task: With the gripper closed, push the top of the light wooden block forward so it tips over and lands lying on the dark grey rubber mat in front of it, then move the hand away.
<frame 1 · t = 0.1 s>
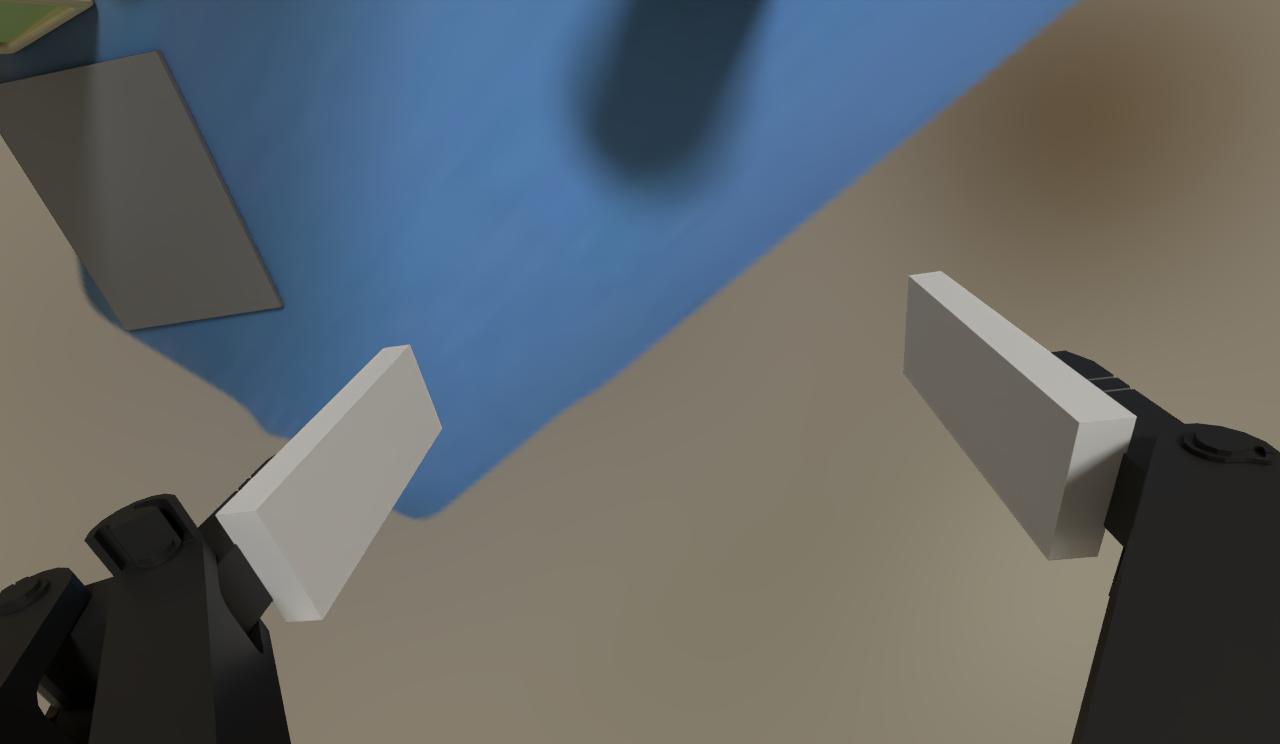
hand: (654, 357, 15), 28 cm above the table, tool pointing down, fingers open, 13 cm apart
mat: (143, 205, 42), on the table
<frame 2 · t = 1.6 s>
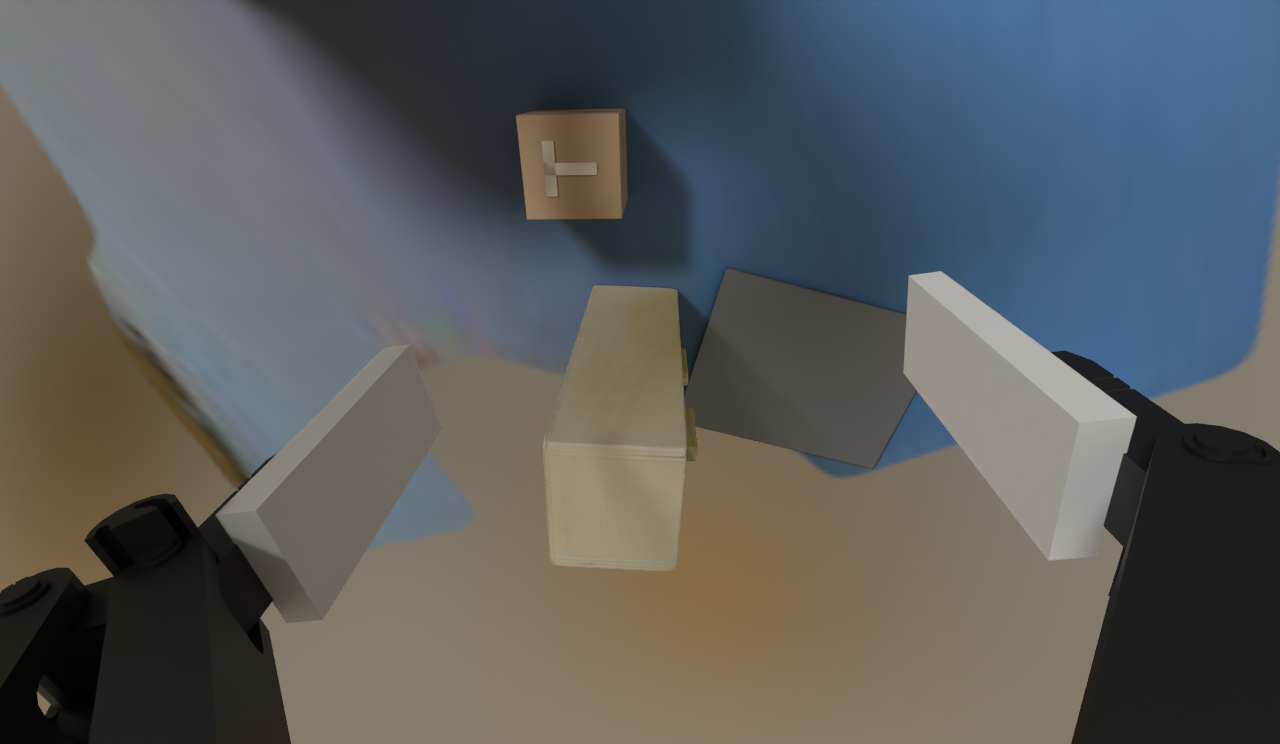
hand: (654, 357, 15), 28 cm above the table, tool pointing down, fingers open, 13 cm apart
mat: (805, 374, 47), on the table
letter cube: (583, 156, 40), on the table
light wooden block: (639, 332, 46), on the table
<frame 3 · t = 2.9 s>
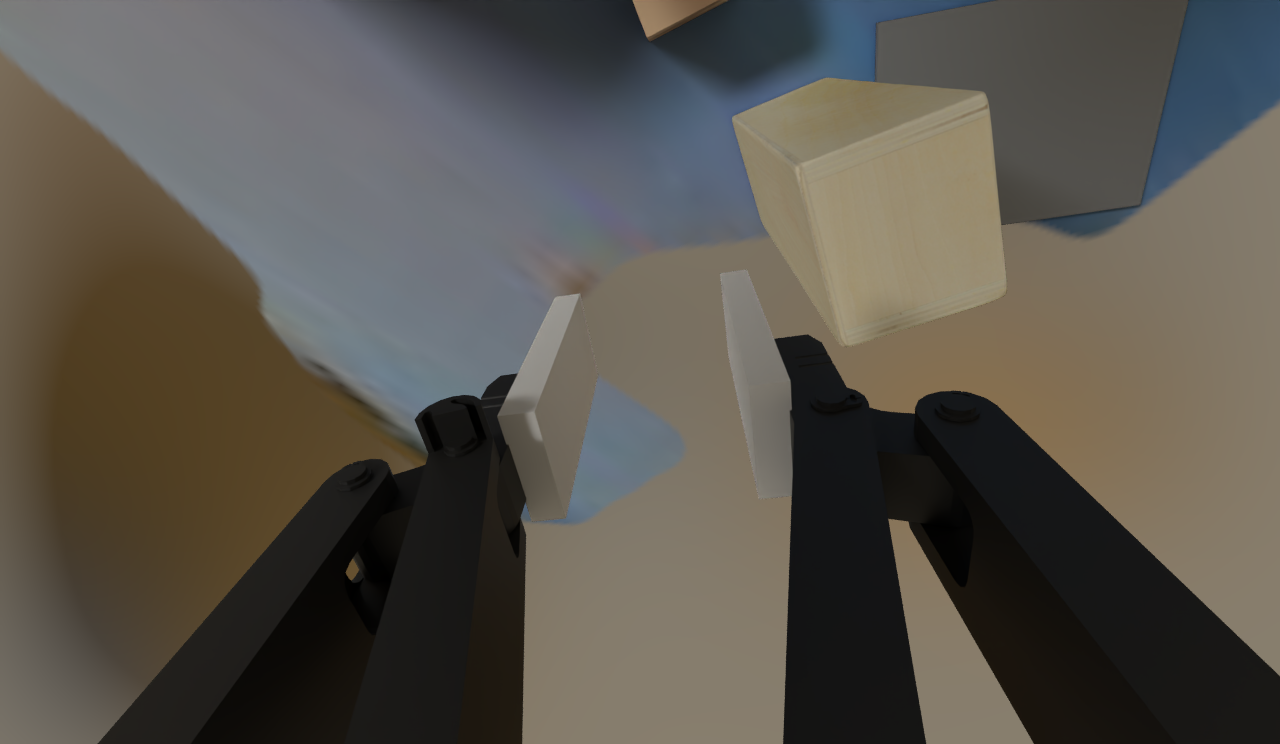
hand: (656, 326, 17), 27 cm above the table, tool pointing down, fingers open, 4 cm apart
mat: (1013, 118, 38), on the table
light wooden block: (798, 153, 40), on the table
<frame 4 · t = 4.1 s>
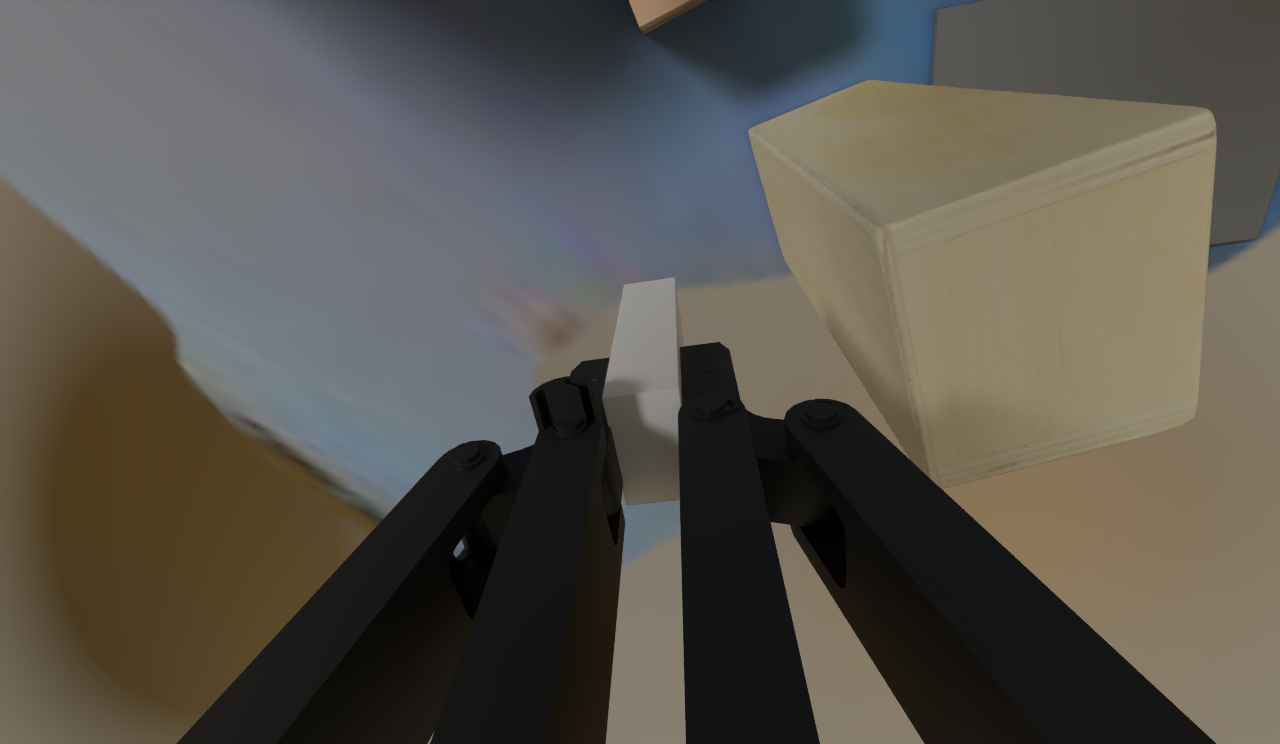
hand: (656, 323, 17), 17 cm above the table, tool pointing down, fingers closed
mat: (1104, 131, 30), on the table
light wooden block: (830, 174, 32), on the table
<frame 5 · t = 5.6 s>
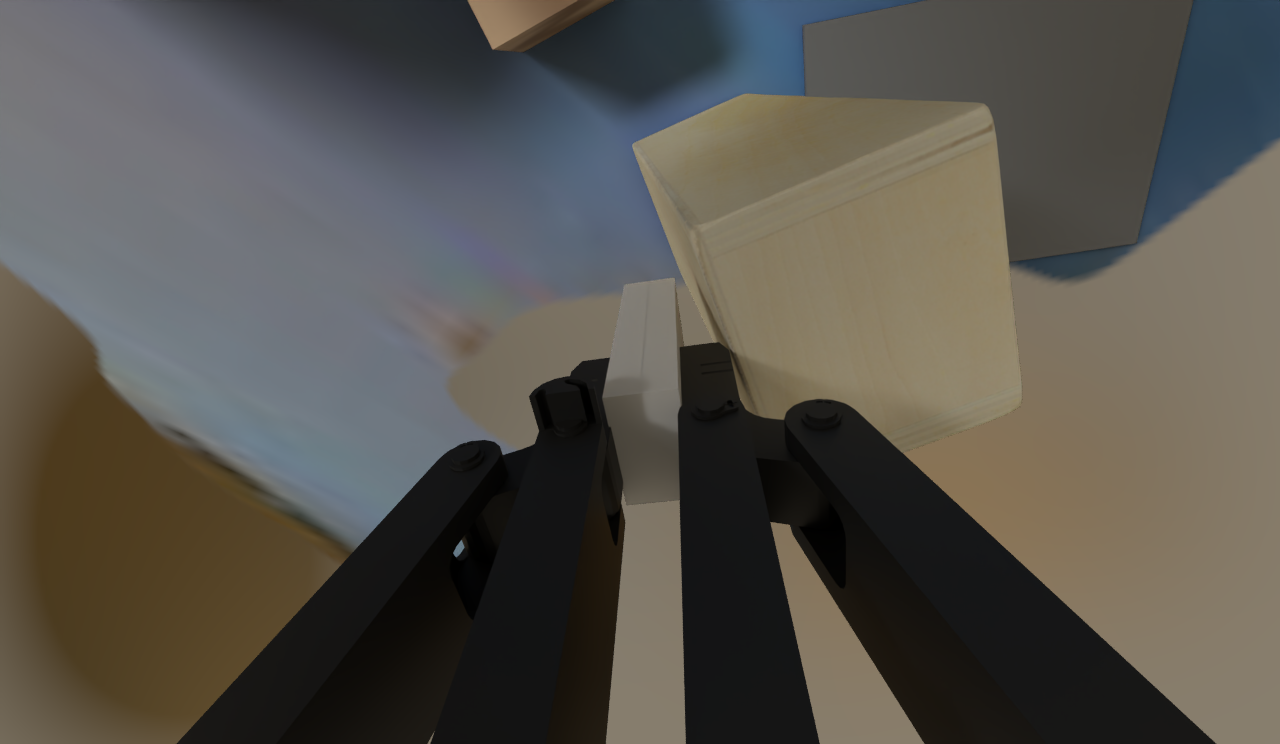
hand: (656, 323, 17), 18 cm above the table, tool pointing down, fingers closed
mat: (978, 141, 31), on the table
light wooden block: (717, 186, 32), on the table, touching gripper
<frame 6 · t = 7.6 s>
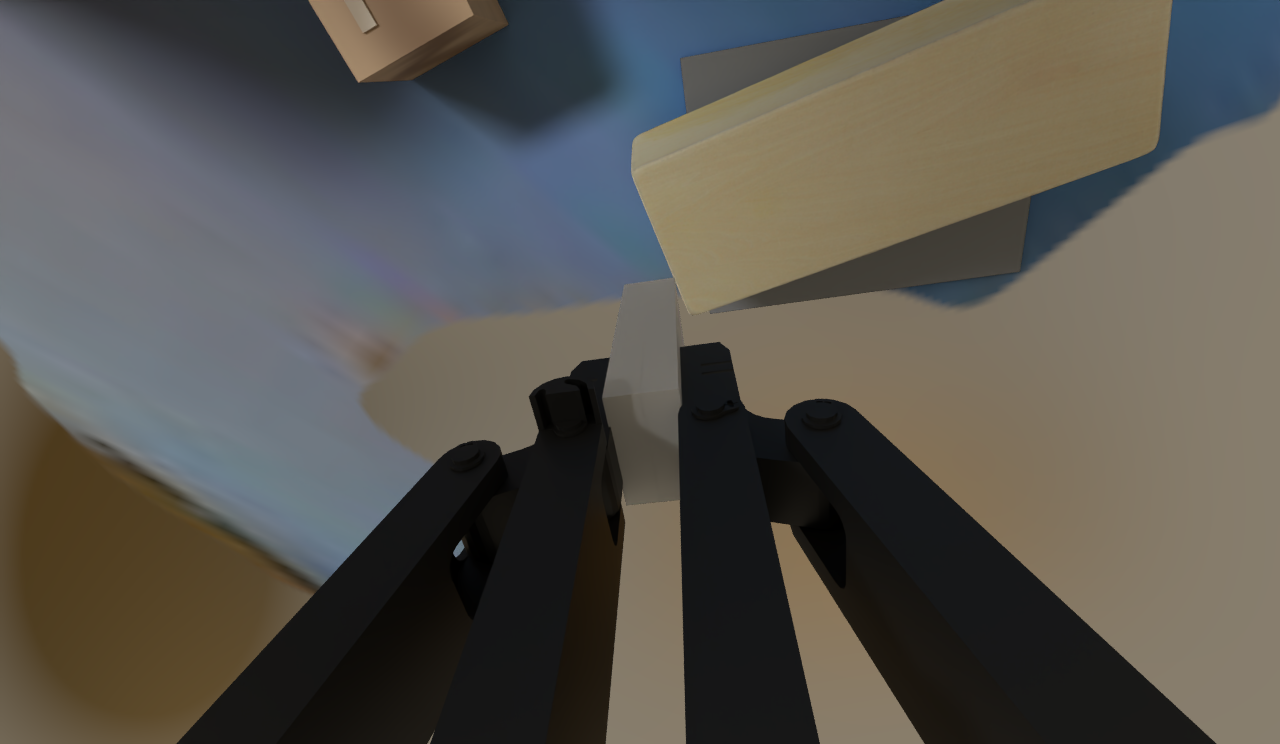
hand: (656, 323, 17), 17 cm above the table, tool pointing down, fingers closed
mat: (859, 171, 31), on the table
light wooden block: (656, 226, 30), point 4 cm above the table, touching mat
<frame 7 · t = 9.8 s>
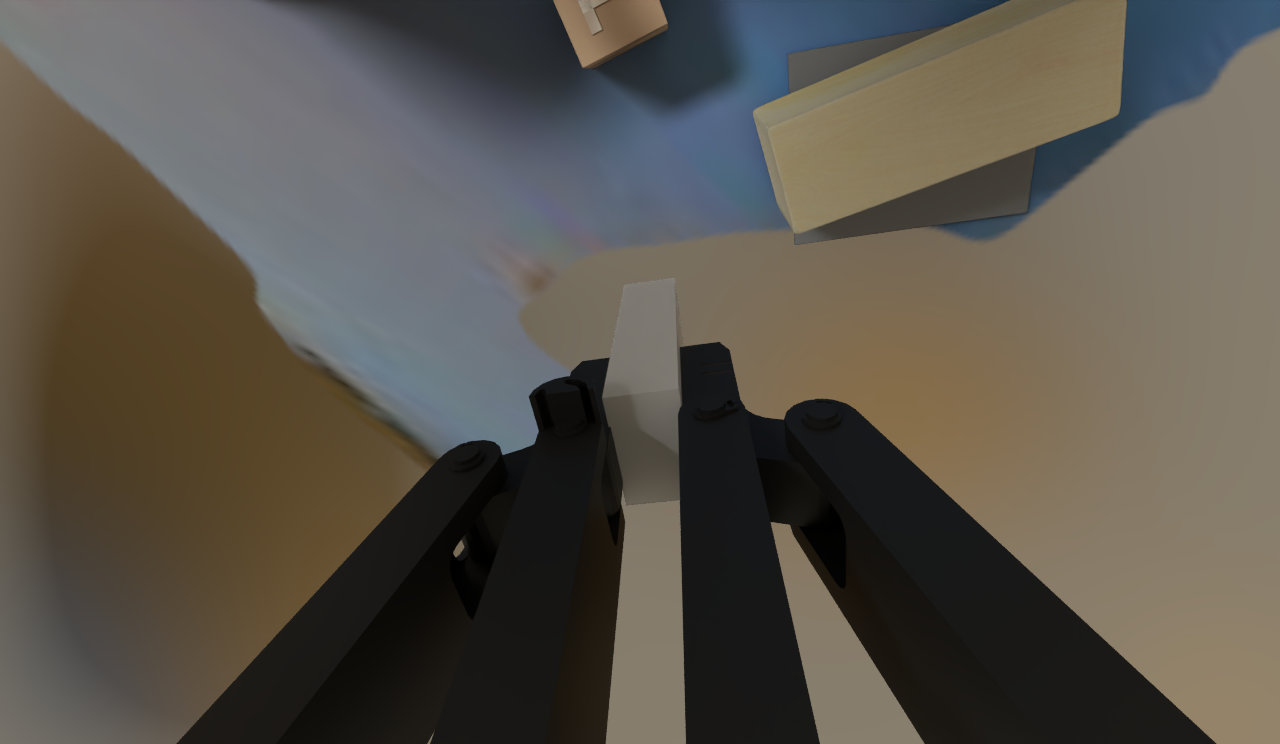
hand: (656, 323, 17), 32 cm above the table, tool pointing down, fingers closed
mat: (911, 136, 43), on the table
letter cube: (612, 5, 41), on the table
light wooden block: (769, 173, 42), point 4 cm above the table, touching mat
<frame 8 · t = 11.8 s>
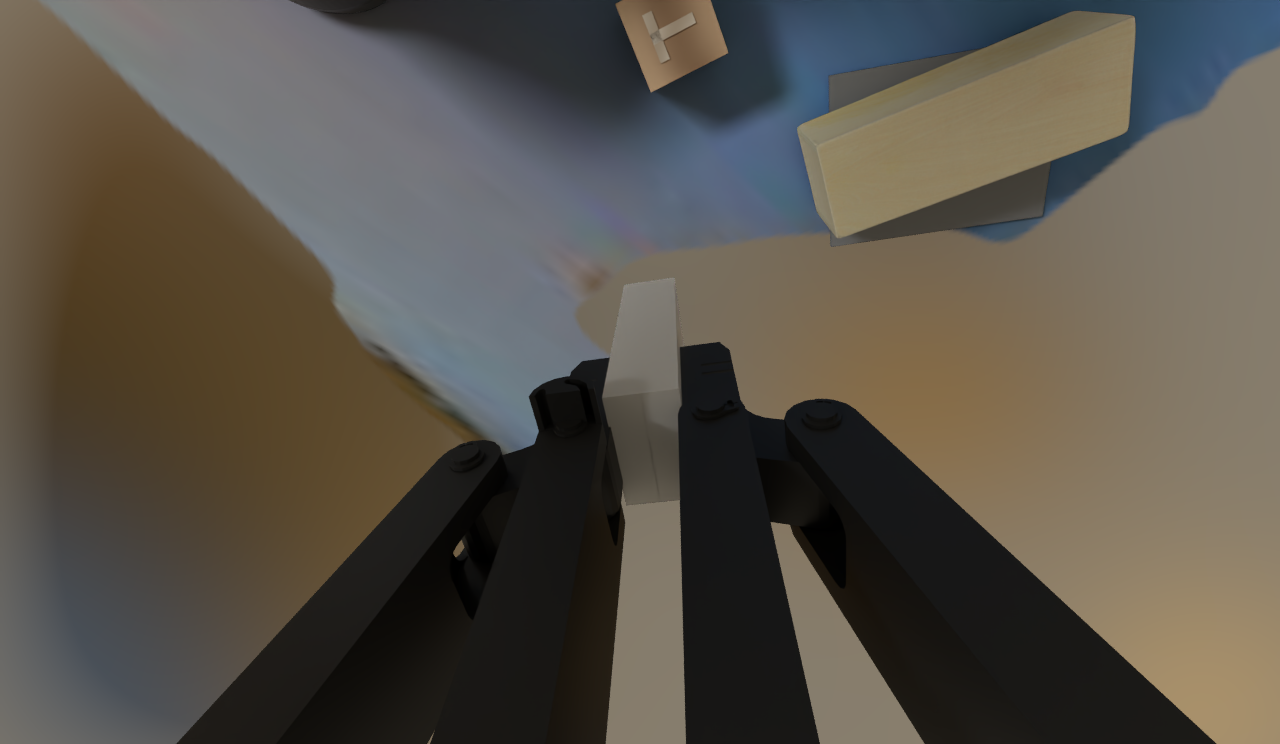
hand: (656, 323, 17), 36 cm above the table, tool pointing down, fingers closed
mat: (939, 148, 48), on the table
letter cube: (672, 33, 45), on the table
light wooden block: (812, 183, 46), point 4 cm above the table, touching mat
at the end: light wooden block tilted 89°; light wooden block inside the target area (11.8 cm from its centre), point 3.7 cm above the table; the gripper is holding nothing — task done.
